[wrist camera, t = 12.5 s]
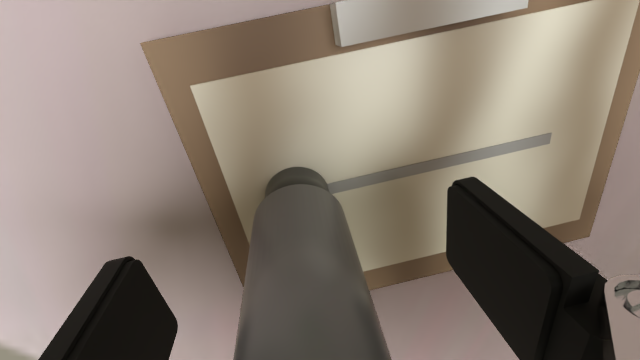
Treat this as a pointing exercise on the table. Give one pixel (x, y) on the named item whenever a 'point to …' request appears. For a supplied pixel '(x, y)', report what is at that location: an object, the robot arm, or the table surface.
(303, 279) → the marker
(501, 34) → the clipboard
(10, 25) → the table surface
